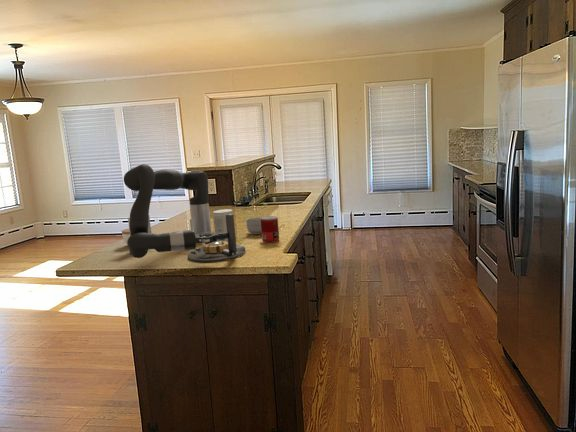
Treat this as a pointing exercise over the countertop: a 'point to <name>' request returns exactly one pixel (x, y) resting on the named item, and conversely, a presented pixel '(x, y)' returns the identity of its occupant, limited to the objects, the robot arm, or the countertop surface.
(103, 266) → the countertop surface
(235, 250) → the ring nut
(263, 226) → the canned food
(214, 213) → the supplement tub
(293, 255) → the countertop surface
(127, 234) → the lidded jar
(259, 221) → the teacup
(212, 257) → the flange plate
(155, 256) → the countertop surface
